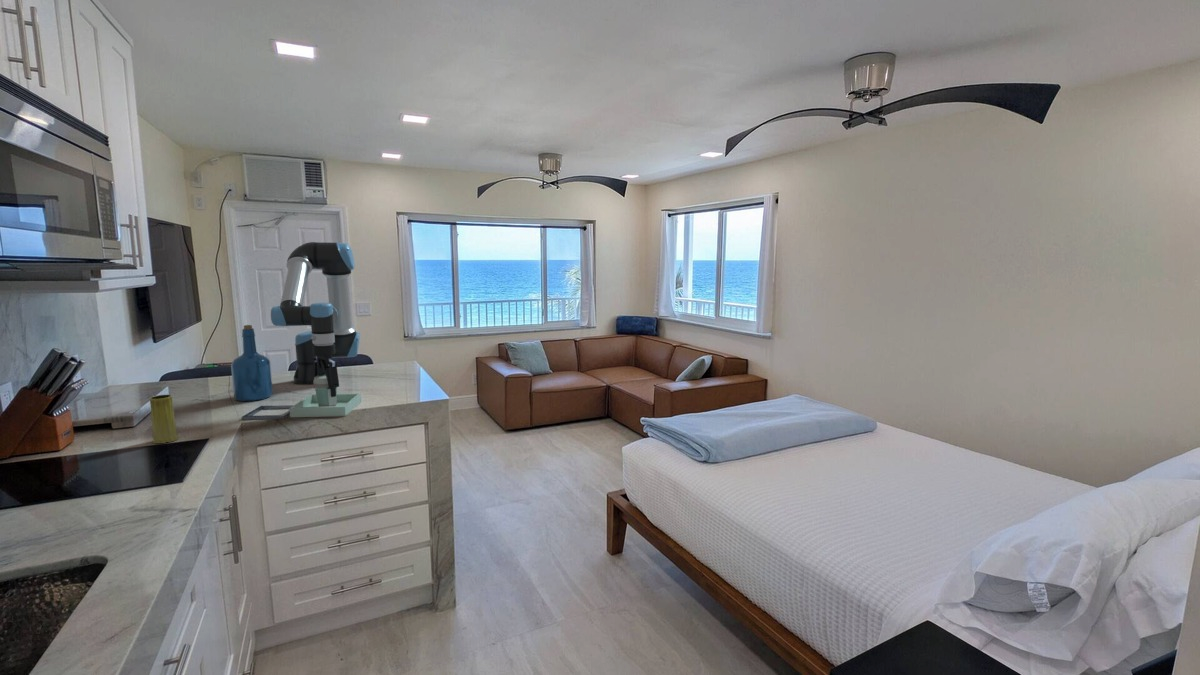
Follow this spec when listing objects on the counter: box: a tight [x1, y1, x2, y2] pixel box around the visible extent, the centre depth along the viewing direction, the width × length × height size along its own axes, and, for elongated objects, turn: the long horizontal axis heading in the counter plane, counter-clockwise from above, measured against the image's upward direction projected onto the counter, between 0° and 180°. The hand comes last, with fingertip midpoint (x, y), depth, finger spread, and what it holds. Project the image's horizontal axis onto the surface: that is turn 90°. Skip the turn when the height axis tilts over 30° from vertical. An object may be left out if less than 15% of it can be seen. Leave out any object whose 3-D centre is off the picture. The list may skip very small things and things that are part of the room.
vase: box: [149, 394, 179, 444], centre depth 160 cm, size 6×6×14 cm
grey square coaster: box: [241, 404, 294, 421], centre depth 191 cm, size 14×14×1 cm
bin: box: [289, 392, 362, 418], centre depth 197 cm, size 19×19×4 cm
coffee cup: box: [313, 375, 338, 407], centre depth 196 cm, size 8×9×12 cm
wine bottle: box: [230, 324, 274, 402], centre depth 208 cm, size 14×13×30 cm
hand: (327, 402), depth 197 cm, fingers closed on coffee cup, 8 cm apart
